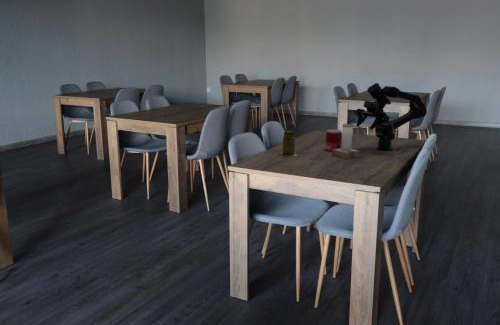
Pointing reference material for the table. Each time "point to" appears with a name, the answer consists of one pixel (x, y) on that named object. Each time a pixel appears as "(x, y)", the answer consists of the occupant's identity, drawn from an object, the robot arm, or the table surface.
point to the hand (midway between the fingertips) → (363, 127)
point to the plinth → (345, 153)
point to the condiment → (288, 144)
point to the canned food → (333, 139)
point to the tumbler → (347, 137)
